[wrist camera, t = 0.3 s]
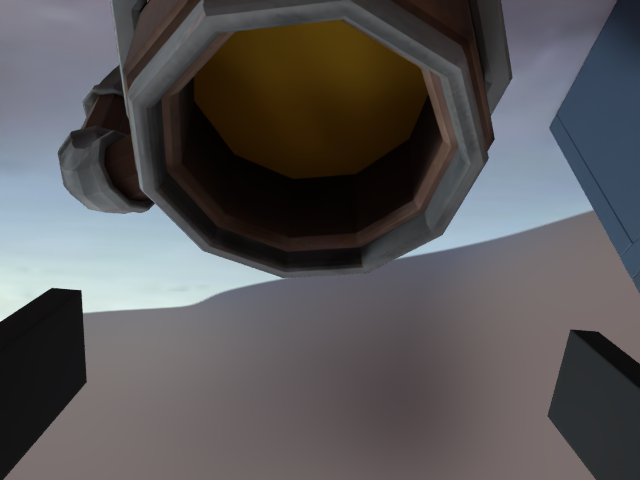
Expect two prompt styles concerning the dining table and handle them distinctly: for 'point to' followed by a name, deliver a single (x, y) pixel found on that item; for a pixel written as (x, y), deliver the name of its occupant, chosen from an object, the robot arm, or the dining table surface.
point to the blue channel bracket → (609, 131)
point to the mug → (294, 124)
